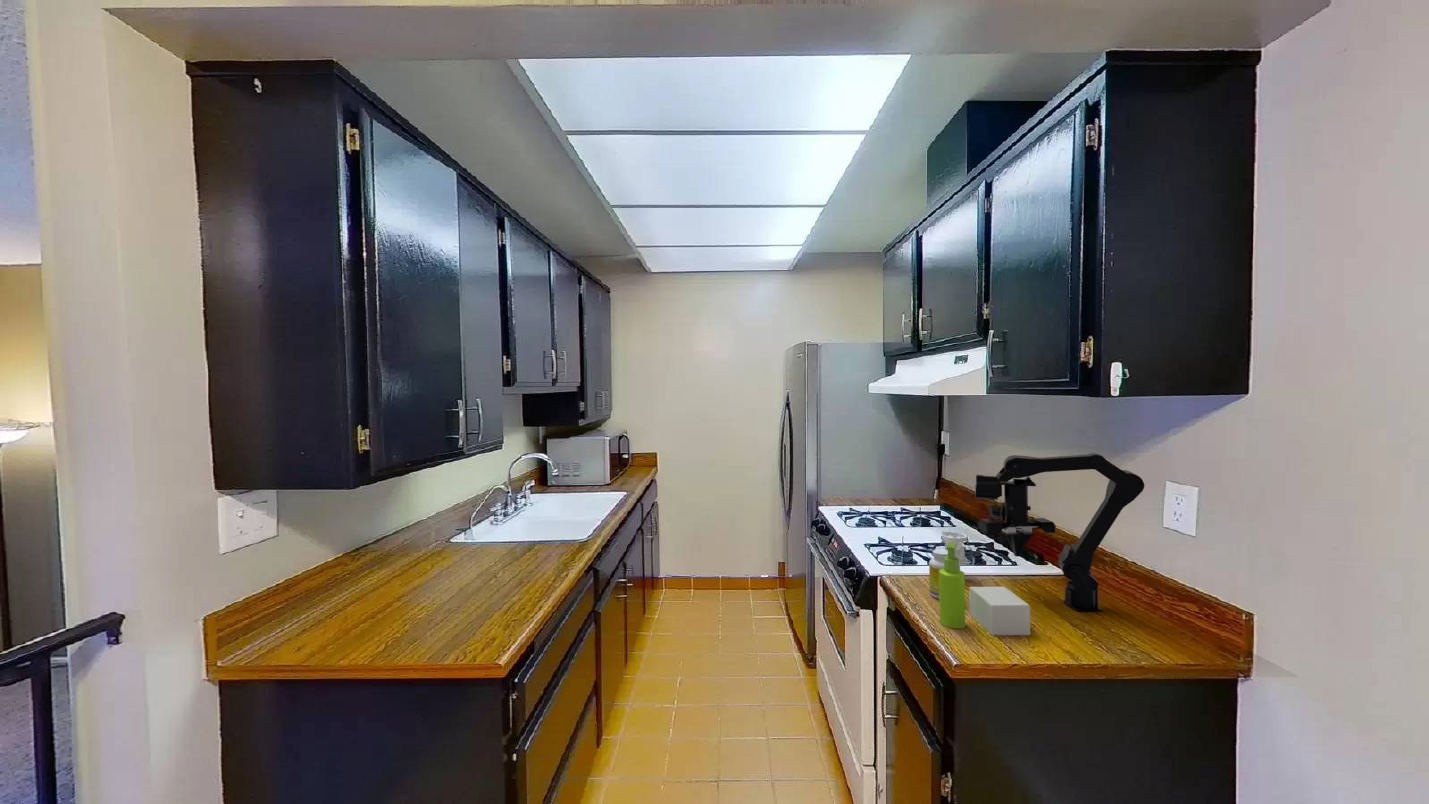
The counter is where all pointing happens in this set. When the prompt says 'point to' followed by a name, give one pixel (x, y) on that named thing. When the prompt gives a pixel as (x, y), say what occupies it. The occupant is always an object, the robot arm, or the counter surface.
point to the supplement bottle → (936, 571)
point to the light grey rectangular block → (999, 611)
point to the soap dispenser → (952, 591)
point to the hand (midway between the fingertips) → (1016, 556)
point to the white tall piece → (959, 547)
